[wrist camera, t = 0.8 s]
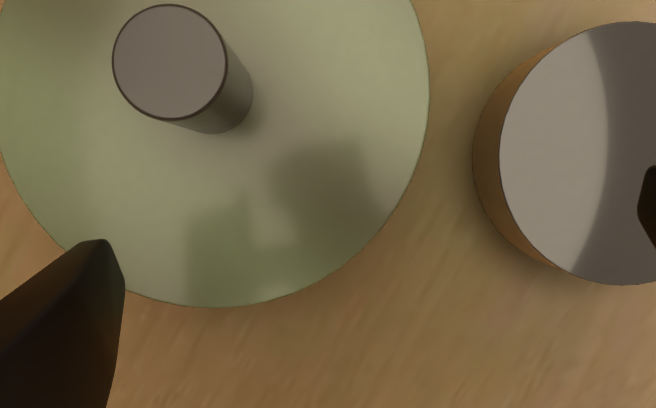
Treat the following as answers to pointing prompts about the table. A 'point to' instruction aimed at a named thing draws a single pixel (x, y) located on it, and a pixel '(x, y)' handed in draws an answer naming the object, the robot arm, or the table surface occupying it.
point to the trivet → (575, 153)
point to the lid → (214, 134)
